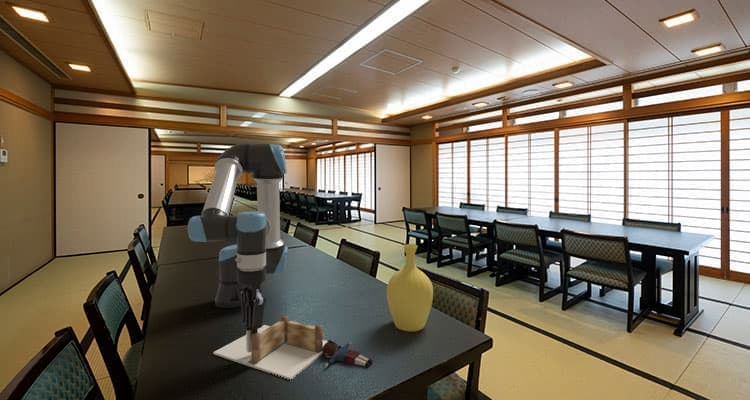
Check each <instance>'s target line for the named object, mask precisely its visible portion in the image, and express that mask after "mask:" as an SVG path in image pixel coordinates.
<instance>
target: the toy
mask: <svg viewBox="0 0 750 400" xmlns="http://www.w3.org/2000/svg"><path fill="white" fill-rule="evenodd" d="M326 341H327V343H325V344H324V346H323V348H322V353H323V354H322V355H323V356H324V357H325V358H329V359H330V360H329V361H327V363H325V365H324V366H325V368H328V366H329V365H331V364H333V363H335V362H337V361H338V362H342V363H346V364H348V365H352V366H355V365H358V366H364V367H366V368H367V369H368V368H370V366H371V365H372V364H373V359H371V358H367V357H366V356H364V355H362V354H361V352H360V351H356V350H354V349H353V350H352V349H348V348H349V347H350V346H351V344H352V342H351V341H350V342H349V343H347V344H345V345H344V346H342V345H339V344H337V342H335V341H334V340H331V339H327V340H326Z"/></svg>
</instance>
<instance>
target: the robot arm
mask: <svg viewBox="0 0 750 400" xmlns="http://www.w3.org/2000/svg"><path fill="white" fill-rule="evenodd" d="M287 169H288V168H287V162H286V157H285V151H284V148H283V146H282V145H280V144H275V143H274V144H273V143H245V142H243V143H237V144H234V145H232V146H230V147H228V148H227V149H226V150H224V151H223V152H222V153H221V154H219V156H218V158H217V160H216V162H215V164H214V171H215V174H214V177H213V179H212V182H211V186H210V188H209V192H208V194H207V197H206V201H205V203H204V206H203V209H202V211H201V214H200V215H195V216H192V217H190V219H189V220H188V223H187V233H188V237H189V239H190V241H192V242H200V243H201V242H202V243H208V242H227V241H228V242H229V241H230V242H231V241H232V242H236V244H232V245H228V246H226V247H223V248H221V250H220V251H219V254H218V267H219V268H218V272H219V286H218V289H217V292H216V296H215V298H214V305H215V306H216V307H218V308H222V309H232V308H233V309H234V308H239V307H241V315H242V318H241V319H242V324H243V323H244V326H245V331H246V334H245V335H246V351H247V352H248V353H249V352H251V334H253V333H258V328H261V327H262V326H263V320H264V319H263V318H264V313H265V312H264V309H265V304H266V301H267V298H266V296H262V292H263V291H262V286H261V284H262V283H264V282H265V281H266V280H267V276H275V275H281V274H284V272H285V269H286V264H287V263H286V262H287V255H288V246H286V245H285V242H284V240H283V239H281V218H280V217H281V215H280V214H281V213H280V212H281V209H280V206H281V204H280V182H281V181H282V180H283V179H284V175H286V174H287V171H288V170H287ZM242 174H252V180H254V181H255V182H256V195H257V197H256V199H257V204H256V205H257V211H243V212H239V213H238V214H237V215H230V211H231V208H232V204H233V201H234V196H235V192H236V188H237V184H238V180H239V179H240V177H241V176H242Z"/></svg>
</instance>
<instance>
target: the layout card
mask: <svg viewBox="0 0 750 400" xmlns="http://www.w3.org/2000/svg"><path fill="white" fill-rule="evenodd" d="M271 326H272V325H267V324H263V325H262V327H261V328H258V333H261V332H262V331H264V330H266V329H267V328H269V327H271ZM327 341H328V340H326V339H325V340H324V339H323V346H324V344H325V343H327ZM212 354H213V355H215V356H218V357H221V358H224V359H227V360H229V361H232V362H236V363H238V364H241V365H245V366H247V367H250V368H253V369H256V370H260V371H262V372H266V373H268V374H271V373H272V375H274V374H275V375H274V376H277V375H278V376H277V377H280V376H281V377H280V378H283V377H284V378H283V379H286V378H287V379H286V380H289V379H290V380H289V381H291V379H292V380H293V379H294V378H295V377H296V375H297V374H298V375H299V374H301V372H302V370H303V371H304V370H305V369H306V368H308V367H309V366H310V365H312V363H314V362H315V361H317V359H319V358H320V357H321V356H322V355H323V353H322V351H321V352H316V351H314V350H311V349H307V348H303V347H300V346H296V345H293V344H289V343H288V341H285V342H284V343H282V344H281V345H279V346H278V347H277V348H275V349H274V350H272V351H271V352H270V353H268V354H267V355H265V356H264V357H263V358H261V359H260V361H258V362H252V356H251V352H249V353H248V352H247V351H246V334H245V335H243V336H241V337H239V338H237V339H235V340H233V341H232V342H230V343H228V344H226V345H224V346H222V347H221V348H219V349H217V350H215V351H213V353H212ZM298 375H297V376H298Z"/></svg>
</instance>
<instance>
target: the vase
mask: <svg viewBox="0 0 750 400" xmlns="http://www.w3.org/2000/svg"><path fill="white" fill-rule="evenodd" d="M418 247H419V246H418V245H417V244H413V243H412V244H411V243H407V244H403V249H404V252H405V263H404V264H405V265H404V266H403V267H402V268H401V269H399V270H397V271H396V272H395V273H393V275H392V276H391V277H390V279H389V281H388V284H387V287H386V299H387V304H388V309H389V311H390V315H391V318H392V321H393V323H394V326H395V327H396V328H397V329H399V330H401V331H404V332H418V331H421V330H423V329H424V328H425V326H426V323H427V321H428V318H429V315H430V312H431V309H432V305H433V299H434V287H433V284H432V281H431V280H430V278H429V277H428V276H427V275H426V273H424V272H423V271H422V270H420V269H419V268H418V267H417V266H416V261H415V260H416V259H415V255H416V252H417V249H418Z"/></svg>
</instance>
